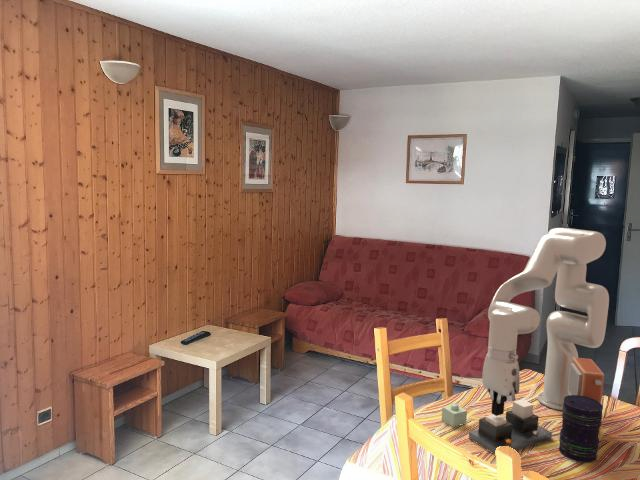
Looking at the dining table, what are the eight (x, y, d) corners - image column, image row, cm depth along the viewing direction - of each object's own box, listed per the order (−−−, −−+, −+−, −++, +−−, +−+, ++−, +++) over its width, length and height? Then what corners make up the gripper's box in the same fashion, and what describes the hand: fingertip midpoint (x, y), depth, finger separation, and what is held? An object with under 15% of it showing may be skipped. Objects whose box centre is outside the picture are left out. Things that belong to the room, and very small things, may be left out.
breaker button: (521, 414, 160) (522, 399, 160) (531, 420, 157) (533, 404, 156) (511, 417, 158) (513, 401, 158) (522, 423, 155) (524, 407, 154)
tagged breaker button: (494, 429, 155) (495, 413, 155) (505, 435, 152) (506, 419, 151) (484, 432, 154) (485, 416, 153) (494, 439, 150) (496, 422, 149)
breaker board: (521, 422, 165) (522, 404, 164) (551, 438, 155) (553, 419, 154) (468, 438, 154) (470, 418, 153) (497, 456, 145) (499, 436, 144)
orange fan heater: (585, 423, 166) (600, 447, 151) (561, 420, 167) (574, 444, 153) (592, 357, 163) (608, 376, 148) (568, 355, 164) (581, 373, 150)
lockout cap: (454, 416, 167) (455, 400, 167) (465, 424, 163) (467, 406, 162) (441, 420, 165) (442, 403, 164) (453, 427, 160) (454, 410, 160)
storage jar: (592, 446, 152) (597, 397, 149) (602, 465, 142) (608, 413, 140) (554, 441, 154) (559, 393, 152) (562, 459, 144) (567, 408, 142)
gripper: (532, 359, 145) (527, 422, 148) (491, 342, 158) (487, 400, 161) (513, 364, 141) (508, 428, 144) (472, 346, 154) (468, 405, 157)
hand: (497, 413), depth 152 cm, fingers closed
